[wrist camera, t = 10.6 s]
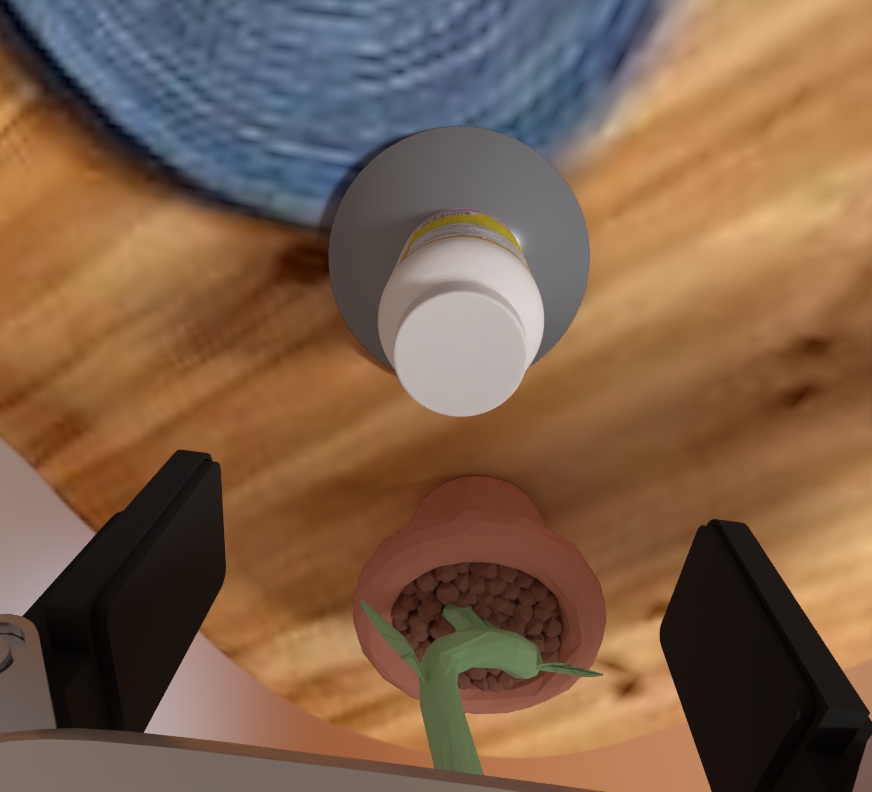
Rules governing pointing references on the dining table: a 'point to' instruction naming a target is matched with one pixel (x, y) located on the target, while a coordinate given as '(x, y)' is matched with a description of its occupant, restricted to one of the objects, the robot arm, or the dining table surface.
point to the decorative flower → (477, 611)
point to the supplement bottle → (461, 314)
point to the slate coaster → (452, 189)
